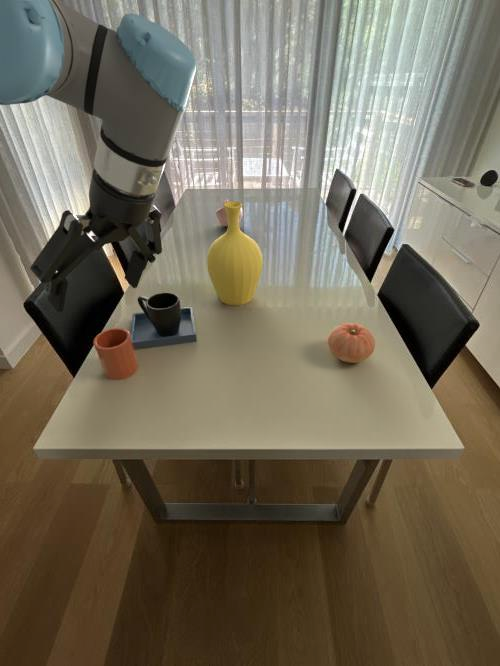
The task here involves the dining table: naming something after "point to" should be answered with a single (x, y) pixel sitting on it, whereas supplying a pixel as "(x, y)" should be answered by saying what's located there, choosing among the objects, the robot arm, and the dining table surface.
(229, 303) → the vase
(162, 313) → the mug
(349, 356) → the orange pumpkin
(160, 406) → the dining table surface
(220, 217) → the mortar and pestle
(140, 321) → the tray
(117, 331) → the terracotta cup
